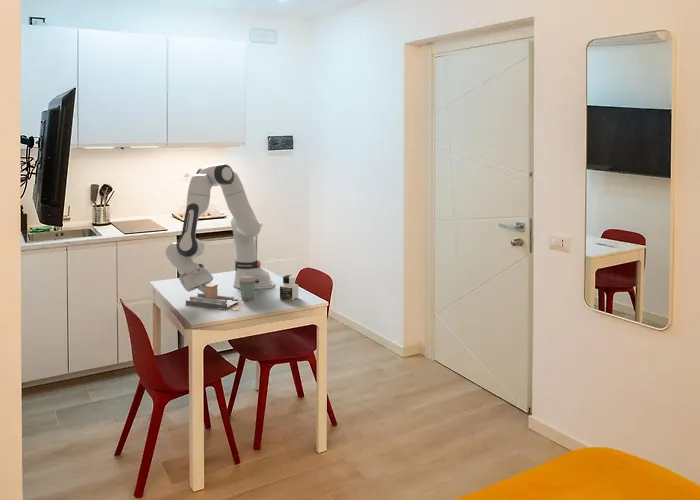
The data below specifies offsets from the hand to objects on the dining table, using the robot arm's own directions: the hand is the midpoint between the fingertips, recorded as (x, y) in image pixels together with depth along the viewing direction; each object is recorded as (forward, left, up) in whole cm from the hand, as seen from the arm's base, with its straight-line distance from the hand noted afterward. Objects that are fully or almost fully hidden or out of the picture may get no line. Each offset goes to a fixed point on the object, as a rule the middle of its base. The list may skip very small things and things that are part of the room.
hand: (207, 292), depth 308 cm
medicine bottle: (-40, -6, -6) cm, 41 cm away
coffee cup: (-19, -6, -6) cm, 21 cm away
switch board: (-2, +1, -5) cm, 6 cm away
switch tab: (-2, +1, -3) cm, 4 cm away
